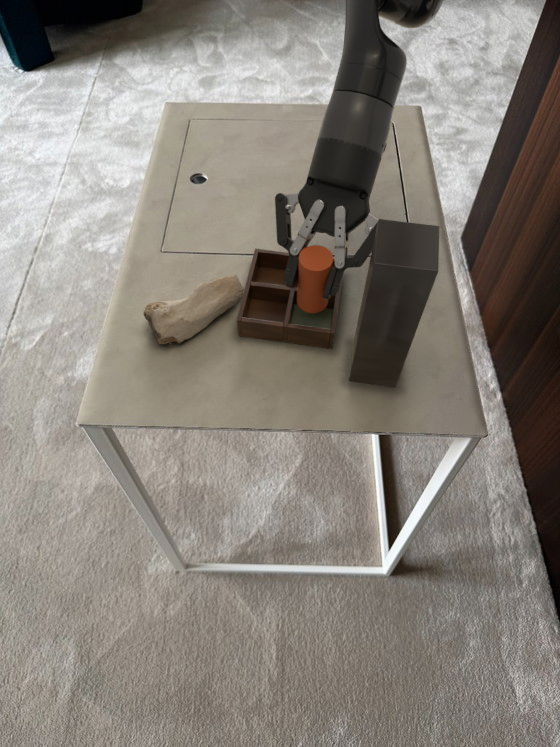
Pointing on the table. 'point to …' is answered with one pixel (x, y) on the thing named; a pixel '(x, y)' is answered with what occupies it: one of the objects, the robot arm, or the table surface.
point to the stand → (393, 299)
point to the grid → (282, 306)
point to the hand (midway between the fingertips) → (308, 291)
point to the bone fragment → (193, 310)
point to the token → (313, 278)
